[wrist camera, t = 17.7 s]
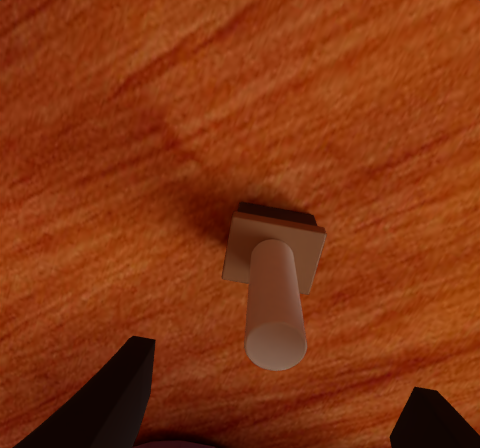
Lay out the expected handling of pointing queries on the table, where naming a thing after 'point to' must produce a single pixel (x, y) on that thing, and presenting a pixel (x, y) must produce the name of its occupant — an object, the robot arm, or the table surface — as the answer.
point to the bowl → (172, 445)
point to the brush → (273, 279)
